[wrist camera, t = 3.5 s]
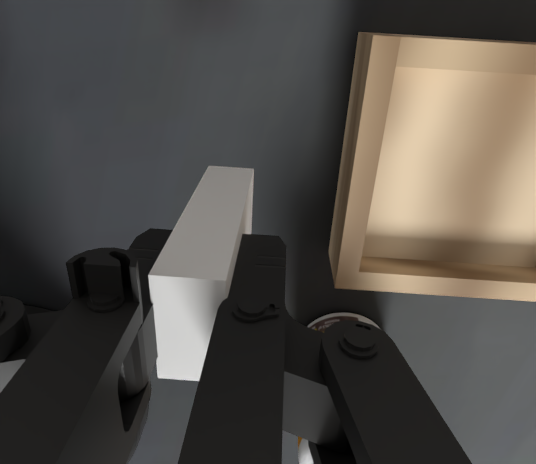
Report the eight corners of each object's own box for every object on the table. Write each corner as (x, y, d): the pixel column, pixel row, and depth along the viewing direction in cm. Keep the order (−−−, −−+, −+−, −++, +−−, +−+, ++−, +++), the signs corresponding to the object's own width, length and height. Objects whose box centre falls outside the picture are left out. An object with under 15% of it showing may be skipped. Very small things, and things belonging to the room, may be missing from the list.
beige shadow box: (328, 251, 23) (334, 288, 20) (358, 31, 18) (373, 34, 15) (528, 264, 23) (565, 303, 20) (614, 47, 18) (682, 53, 15)
